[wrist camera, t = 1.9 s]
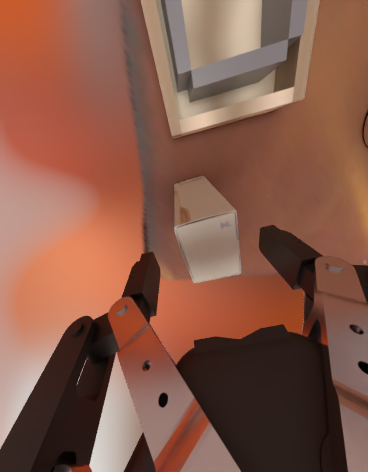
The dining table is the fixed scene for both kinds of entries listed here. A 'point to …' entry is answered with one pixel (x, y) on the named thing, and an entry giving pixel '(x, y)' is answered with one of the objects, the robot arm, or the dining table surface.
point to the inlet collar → (241, 66)
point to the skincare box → (206, 230)
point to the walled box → (220, 48)
